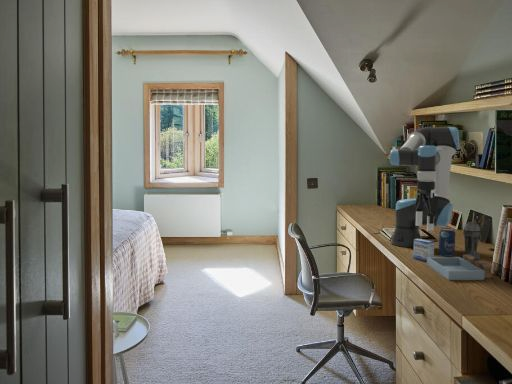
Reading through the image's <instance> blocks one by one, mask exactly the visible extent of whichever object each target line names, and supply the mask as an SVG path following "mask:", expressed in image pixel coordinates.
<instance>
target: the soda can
mask: <svg viewBox="0 0 512 384" xmlns="http://www.w3.org/2000/svg"><path fill="white" fill-rule="evenodd" d="M438 238H439V239H438V253H439V254H440V256H443V255H444V257H453V256H454V254H455V252H456V232H455V229H454V228H449V227H445V228H444V227H442V228H440V231H439V235H438Z"/></svg>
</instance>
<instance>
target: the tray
mask: <svg viewBox="0 0 512 384" xmlns="http://www.w3.org/2000/svg"><path fill="white" fill-rule="evenodd" d="M426 266H427V267H429V268H430V269H431V270H433V271H434V272H436V273H437V274H438V275H440V276H442V277H443V278H445V279H446V281H478V280H479V281H484V280H485V278H484V275H485V271H484V270H482V269H480V268H479V267H477V266H475V265H473V264H471V263H469V262H468V261H466V260H464V259H463V257H460V256H444V257H443V256H437V257H427V261H426Z"/></svg>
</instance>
